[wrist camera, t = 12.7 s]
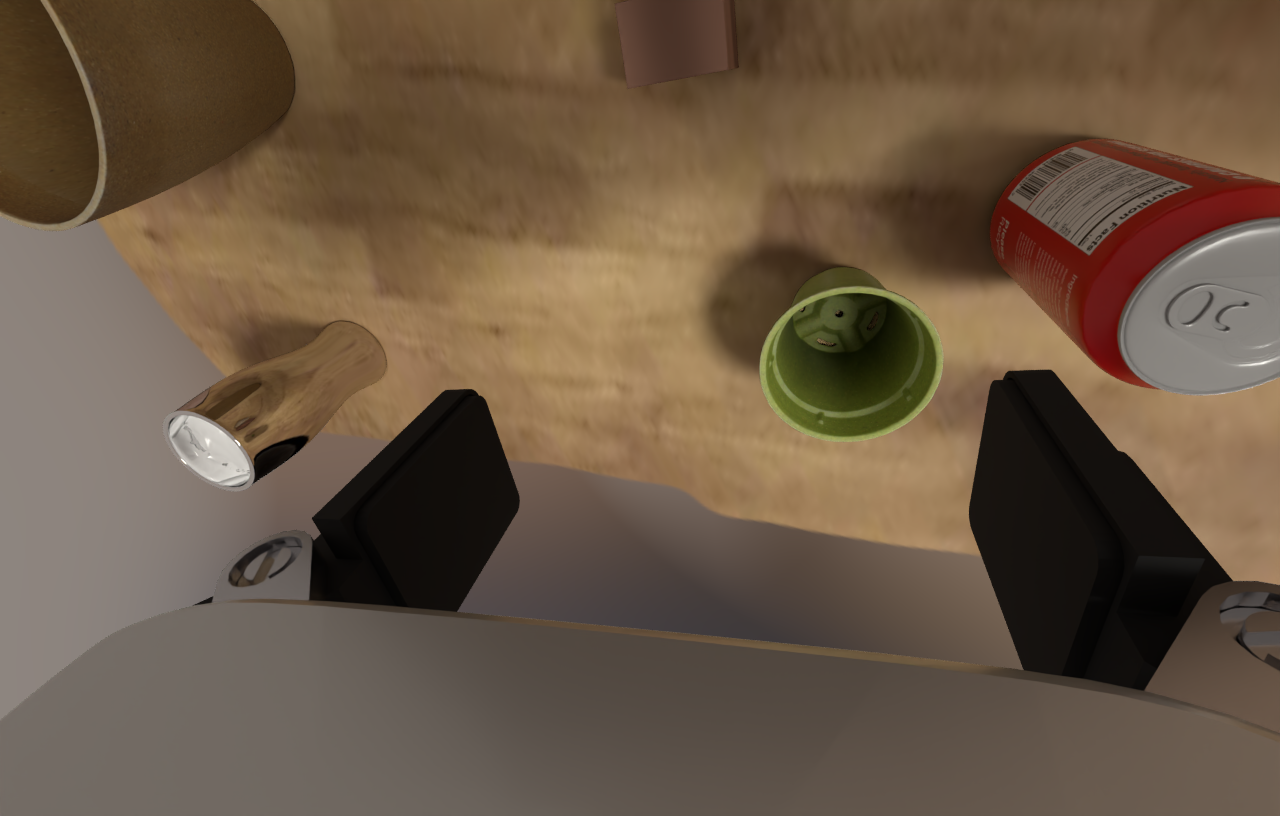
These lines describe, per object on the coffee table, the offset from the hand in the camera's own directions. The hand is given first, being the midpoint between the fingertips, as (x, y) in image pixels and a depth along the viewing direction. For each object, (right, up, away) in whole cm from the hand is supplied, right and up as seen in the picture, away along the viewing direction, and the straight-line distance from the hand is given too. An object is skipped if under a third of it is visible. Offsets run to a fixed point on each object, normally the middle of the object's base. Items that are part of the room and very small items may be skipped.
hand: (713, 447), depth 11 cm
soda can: (+23, +12, +21) cm, 33 cm away
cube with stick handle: (+1, +25, +19) cm, 31 cm away
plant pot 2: (+12, +7, +27) cm, 30 cm away
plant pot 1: (-28, +25, +27) cm, 46 cm away
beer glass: (-26, +6, +39) cm, 47 cm away
